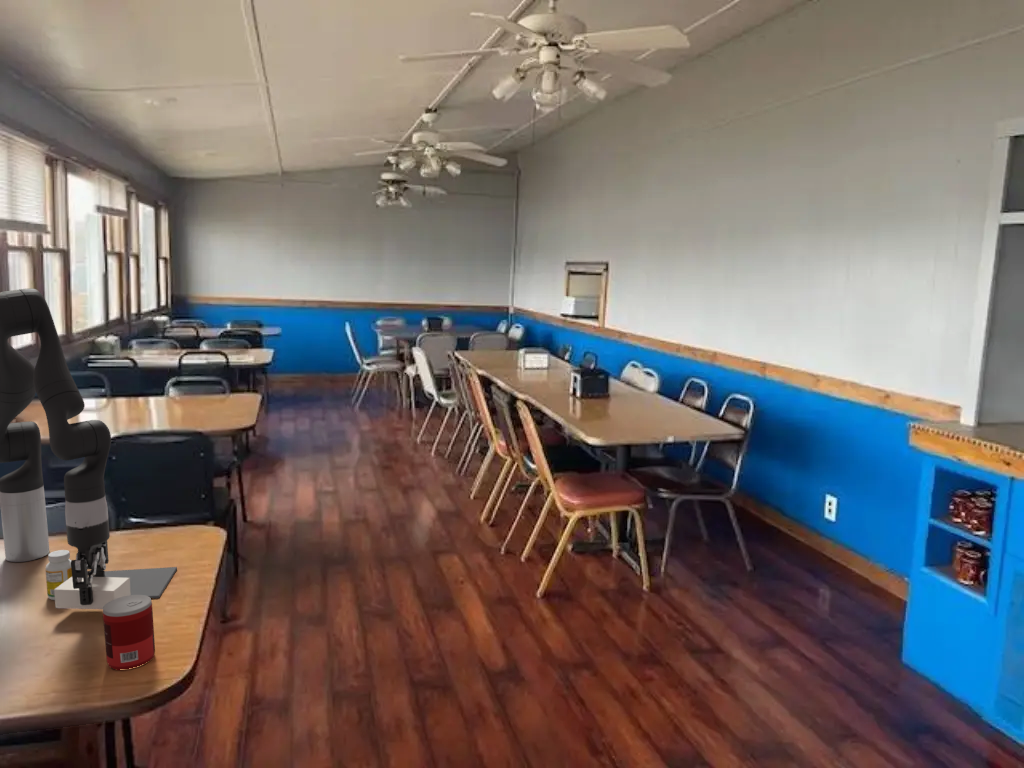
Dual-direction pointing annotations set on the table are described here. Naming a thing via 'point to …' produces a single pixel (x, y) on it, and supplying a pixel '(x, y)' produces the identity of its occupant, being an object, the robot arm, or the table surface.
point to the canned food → (129, 631)
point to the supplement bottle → (57, 570)
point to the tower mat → (146, 580)
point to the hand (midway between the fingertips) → (93, 595)
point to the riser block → (101, 588)
